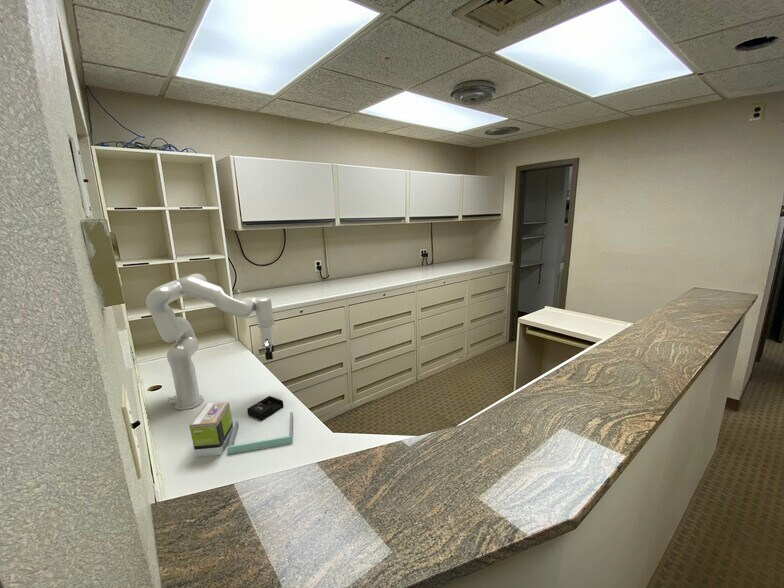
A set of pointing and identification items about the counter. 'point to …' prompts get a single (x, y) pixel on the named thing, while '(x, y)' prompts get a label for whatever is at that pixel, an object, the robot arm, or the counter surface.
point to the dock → (258, 444)
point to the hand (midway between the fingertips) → (270, 355)
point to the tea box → (211, 429)
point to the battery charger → (265, 408)
